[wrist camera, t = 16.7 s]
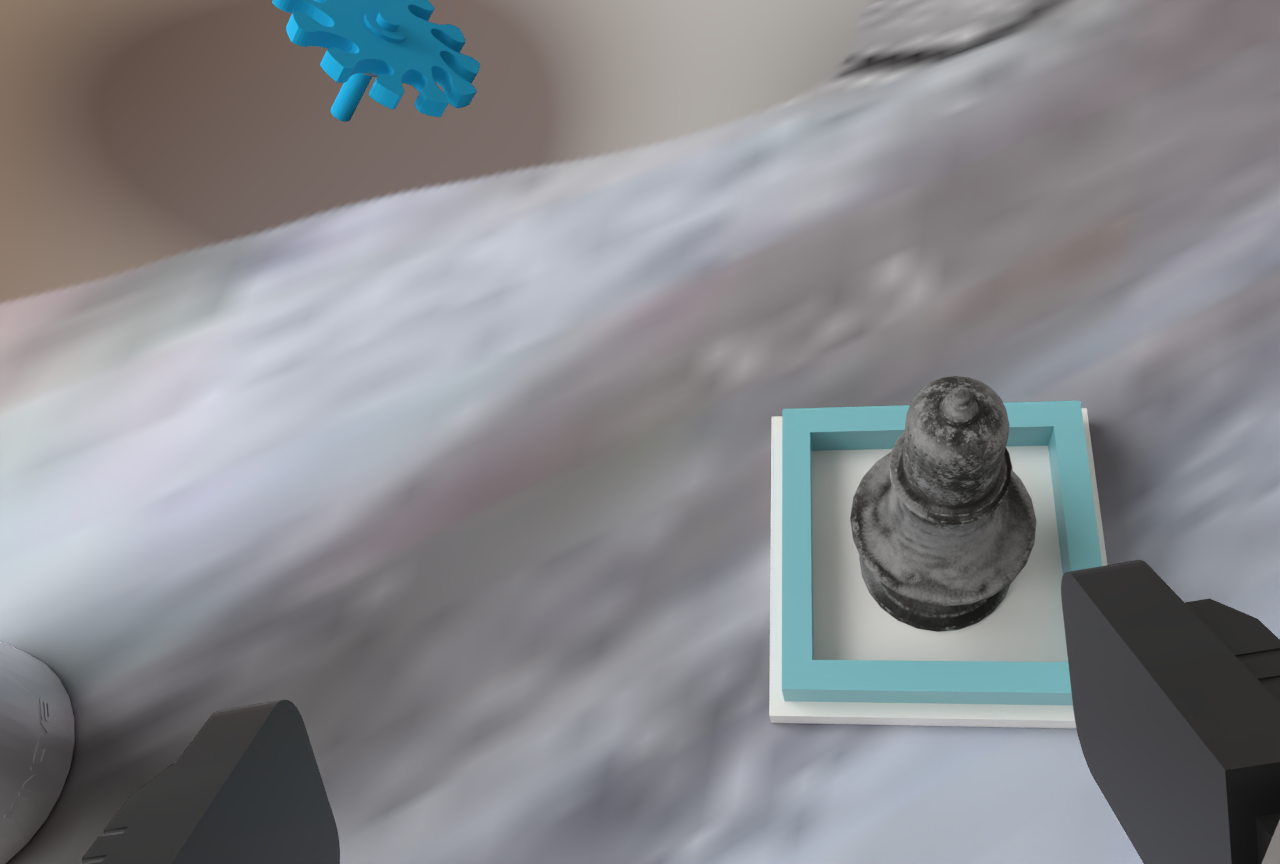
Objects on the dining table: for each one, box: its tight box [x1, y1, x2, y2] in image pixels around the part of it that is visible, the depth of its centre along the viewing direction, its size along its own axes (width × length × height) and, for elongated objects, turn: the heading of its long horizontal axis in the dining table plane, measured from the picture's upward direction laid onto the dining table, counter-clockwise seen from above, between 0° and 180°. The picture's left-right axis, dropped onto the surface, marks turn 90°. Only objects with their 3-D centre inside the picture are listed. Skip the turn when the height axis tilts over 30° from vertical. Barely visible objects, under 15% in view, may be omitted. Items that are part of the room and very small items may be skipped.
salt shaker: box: [850, 376, 1036, 632], centre depth 36 cm, size 6×6×12 cm
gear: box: [272, 0, 480, 122], centre depth 56 cm, size 11×6×10 cm
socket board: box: [769, 401, 1107, 728], centre depth 41 cm, size 12×12×2 cm
